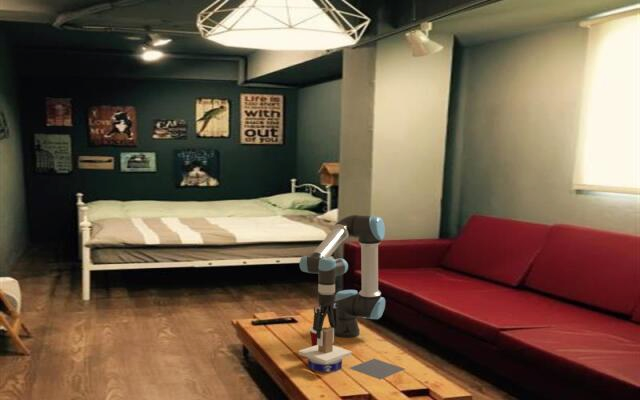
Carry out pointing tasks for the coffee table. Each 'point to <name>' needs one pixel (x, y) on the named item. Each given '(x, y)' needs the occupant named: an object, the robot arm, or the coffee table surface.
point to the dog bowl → (324, 365)
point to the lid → (326, 349)
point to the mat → (377, 368)
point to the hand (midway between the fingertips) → (325, 343)
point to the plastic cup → (313, 336)
